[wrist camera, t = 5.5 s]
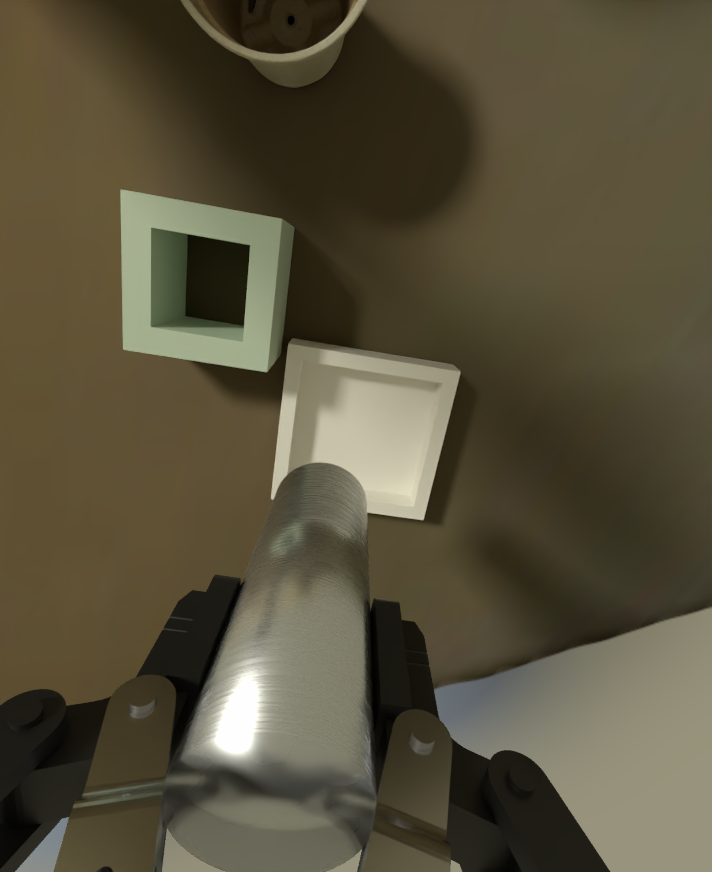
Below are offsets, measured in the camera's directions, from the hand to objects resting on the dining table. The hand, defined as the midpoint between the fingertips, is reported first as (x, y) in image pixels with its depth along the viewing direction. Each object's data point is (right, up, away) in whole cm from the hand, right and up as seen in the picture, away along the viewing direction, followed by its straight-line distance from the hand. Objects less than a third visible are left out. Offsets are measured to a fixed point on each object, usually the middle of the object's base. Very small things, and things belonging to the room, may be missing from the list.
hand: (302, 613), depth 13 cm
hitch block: (-8, +16, +18) cm, 25 cm away
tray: (+2, +6, +22) cm, 23 cm away
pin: (0, +2, +6) cm, 7 cm away
